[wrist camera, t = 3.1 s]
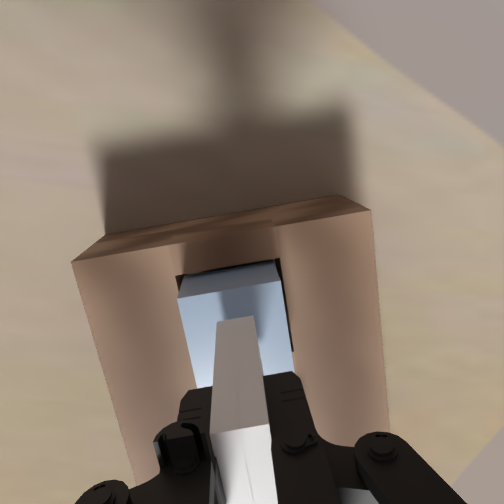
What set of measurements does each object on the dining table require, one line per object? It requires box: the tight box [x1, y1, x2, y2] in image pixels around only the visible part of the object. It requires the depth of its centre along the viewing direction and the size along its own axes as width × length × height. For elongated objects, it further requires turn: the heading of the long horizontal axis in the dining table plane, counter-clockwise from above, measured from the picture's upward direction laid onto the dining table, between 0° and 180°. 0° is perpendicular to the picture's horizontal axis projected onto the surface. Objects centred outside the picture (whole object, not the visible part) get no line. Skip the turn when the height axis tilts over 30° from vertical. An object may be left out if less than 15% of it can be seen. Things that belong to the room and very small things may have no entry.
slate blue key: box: [177, 260, 295, 388], centre depth 19 cm, size 4×4×3 cm
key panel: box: [71, 195, 390, 486], centre depth 25 cm, size 14×24×6 cm, turn 9°
